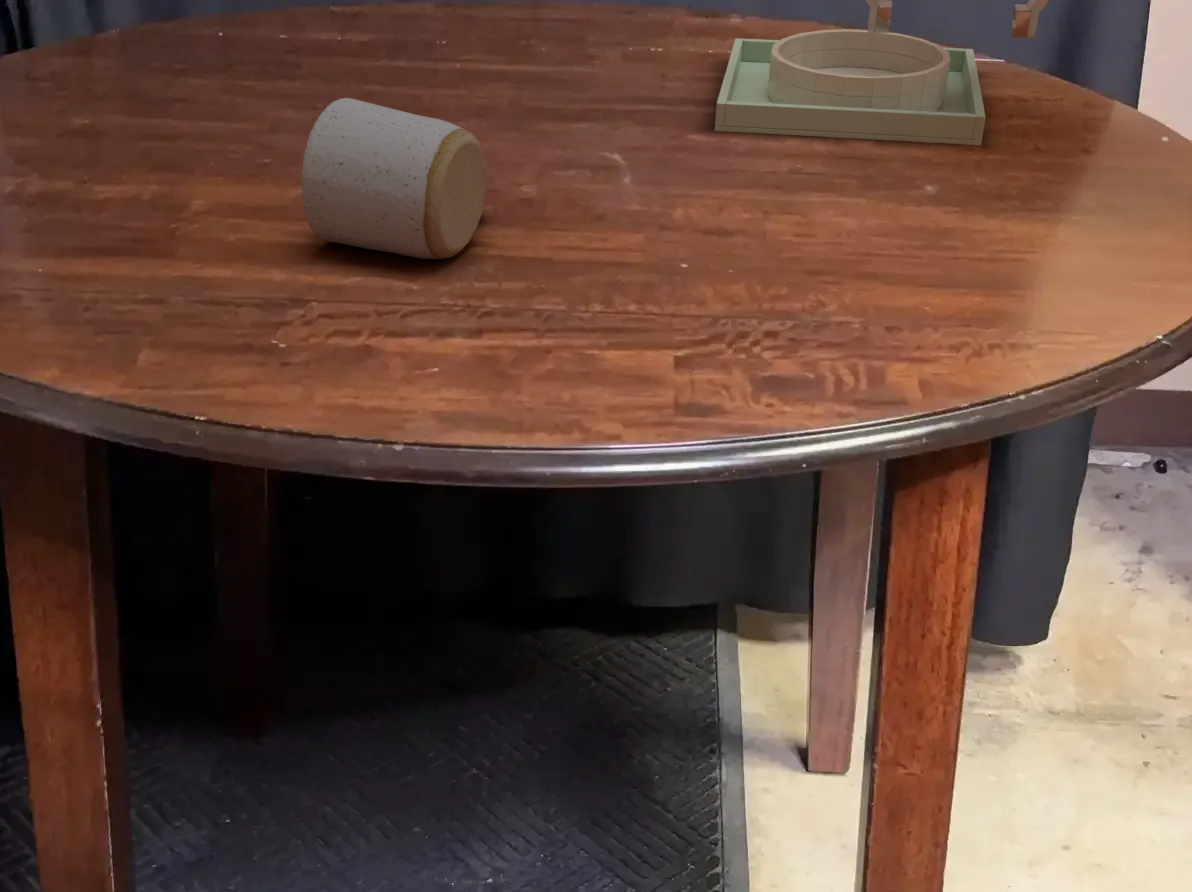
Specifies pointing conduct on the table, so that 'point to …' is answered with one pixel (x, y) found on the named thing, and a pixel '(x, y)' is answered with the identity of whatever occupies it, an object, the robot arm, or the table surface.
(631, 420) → the table surface
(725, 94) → the tray
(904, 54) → the bowl
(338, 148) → the ceramic mug
